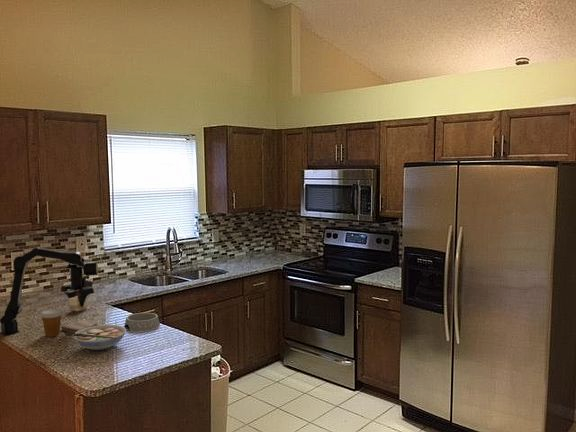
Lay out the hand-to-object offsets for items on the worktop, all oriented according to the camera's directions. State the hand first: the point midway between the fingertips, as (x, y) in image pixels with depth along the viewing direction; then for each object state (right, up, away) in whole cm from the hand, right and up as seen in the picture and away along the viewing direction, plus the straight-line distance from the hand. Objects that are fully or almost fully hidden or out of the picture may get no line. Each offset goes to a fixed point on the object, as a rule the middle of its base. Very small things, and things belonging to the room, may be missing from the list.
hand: (78, 306), depth 254 cm
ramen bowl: (+22, -15, -27) cm, 38 cm away
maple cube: (0, -2, 0) cm, 2 cm away
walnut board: (+1, -12, 0) cm, 12 cm away
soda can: (-14, -9, +35) cm, 38 cm away
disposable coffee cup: (-9, -13, -9) cm, 18 cm away
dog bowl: (+32, -12, +5) cm, 34 cm away
